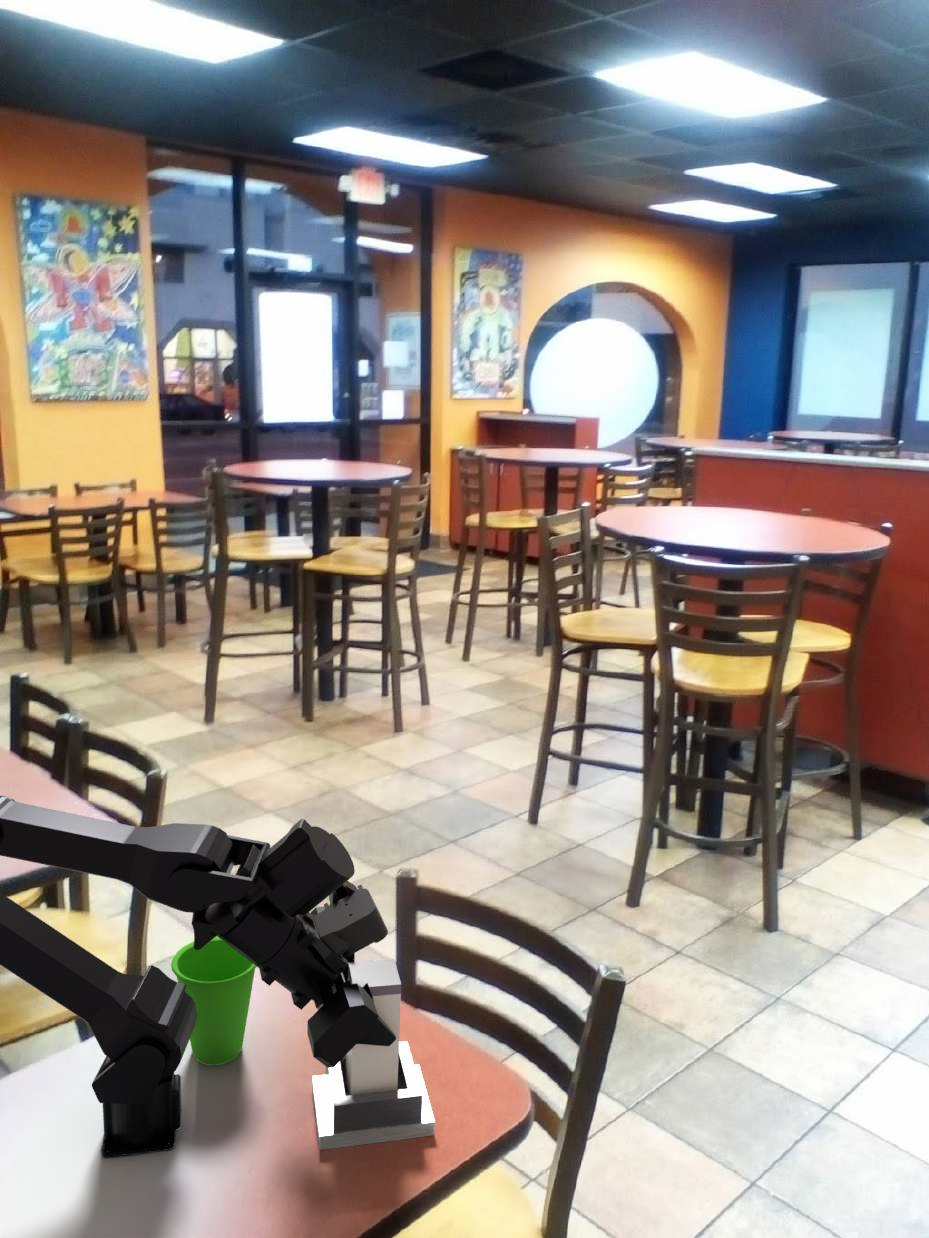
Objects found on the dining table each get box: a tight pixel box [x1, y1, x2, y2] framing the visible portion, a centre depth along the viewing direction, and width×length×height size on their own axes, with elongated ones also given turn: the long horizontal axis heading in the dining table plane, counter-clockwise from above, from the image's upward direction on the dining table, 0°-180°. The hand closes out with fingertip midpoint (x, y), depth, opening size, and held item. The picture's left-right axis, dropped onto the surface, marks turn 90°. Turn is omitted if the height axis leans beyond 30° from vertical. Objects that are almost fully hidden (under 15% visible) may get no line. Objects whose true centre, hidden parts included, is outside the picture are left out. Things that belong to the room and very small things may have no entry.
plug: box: [345, 958, 402, 1095], centre depth 98 cm, size 4×4×12 cm
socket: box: [312, 1040, 436, 1151], centre depth 100 cm, size 11×9×4 cm
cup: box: [170, 936, 258, 1066], centre depth 107 cm, size 9×9×11 cm
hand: (386, 1025), depth 99 cm, fingers closed on plug, 5 cm apart
